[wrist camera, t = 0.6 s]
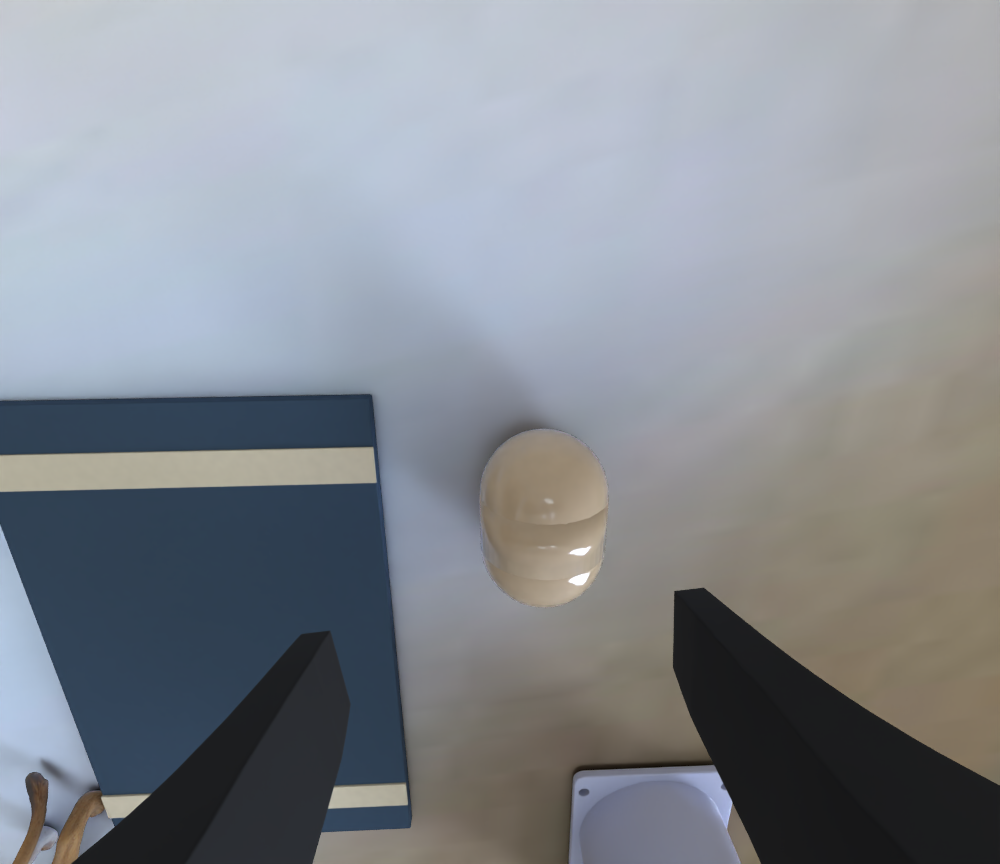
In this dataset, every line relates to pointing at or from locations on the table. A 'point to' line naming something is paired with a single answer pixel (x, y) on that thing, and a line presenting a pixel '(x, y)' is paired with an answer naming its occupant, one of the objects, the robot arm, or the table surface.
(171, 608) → the towel
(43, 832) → the lion figurine
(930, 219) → the table surface
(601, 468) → the egg
